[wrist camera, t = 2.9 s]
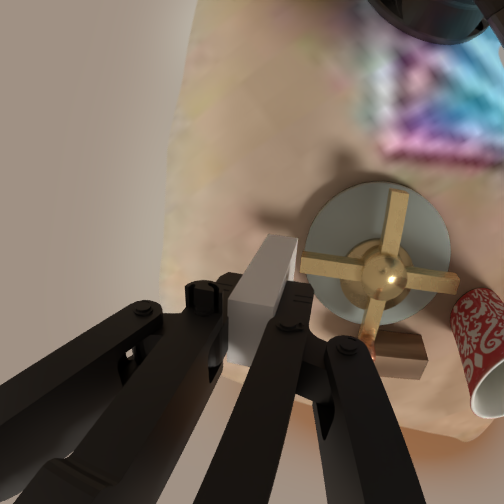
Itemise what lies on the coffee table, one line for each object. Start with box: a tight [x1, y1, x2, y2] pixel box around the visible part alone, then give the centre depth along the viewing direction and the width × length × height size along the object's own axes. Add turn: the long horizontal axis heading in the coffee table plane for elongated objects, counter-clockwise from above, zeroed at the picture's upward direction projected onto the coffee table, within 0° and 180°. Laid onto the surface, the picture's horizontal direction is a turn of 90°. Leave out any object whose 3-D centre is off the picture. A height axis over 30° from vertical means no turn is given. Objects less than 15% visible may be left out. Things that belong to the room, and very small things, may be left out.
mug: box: [450, 288, 504, 419], centre depth 26 cm, size 13×9×14 cm
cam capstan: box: [299, 188, 460, 362], centre depth 29 cm, size 16×16×7 cm
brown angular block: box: [374, 330, 428, 380], centre depth 35 cm, size 4×8×5 cm, turn 86°
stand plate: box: [305, 181, 451, 325], centre depth 33 cm, size 16×16×2 cm
